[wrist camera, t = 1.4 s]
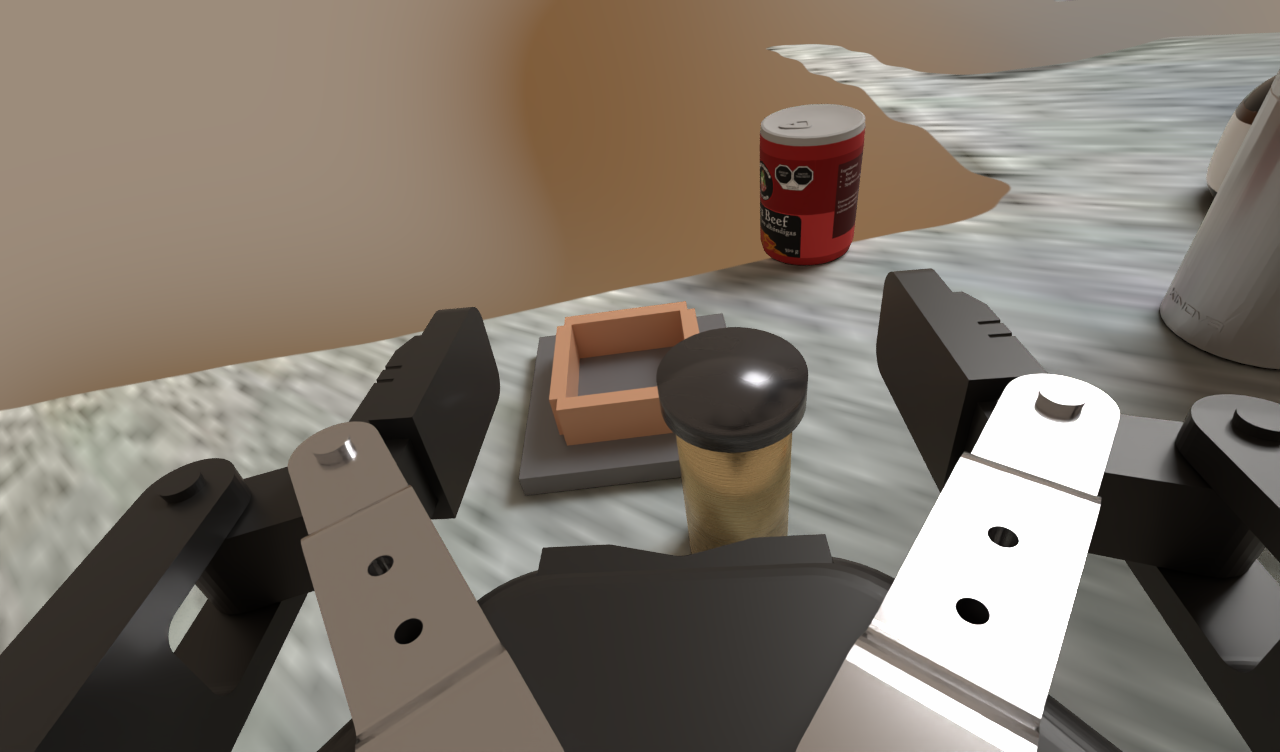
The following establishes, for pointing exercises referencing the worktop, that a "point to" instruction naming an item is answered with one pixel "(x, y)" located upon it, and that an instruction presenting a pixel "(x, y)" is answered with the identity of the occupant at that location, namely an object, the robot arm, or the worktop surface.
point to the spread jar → (1235, 136)
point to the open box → (604, 400)
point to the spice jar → (733, 430)
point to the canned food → (810, 182)
